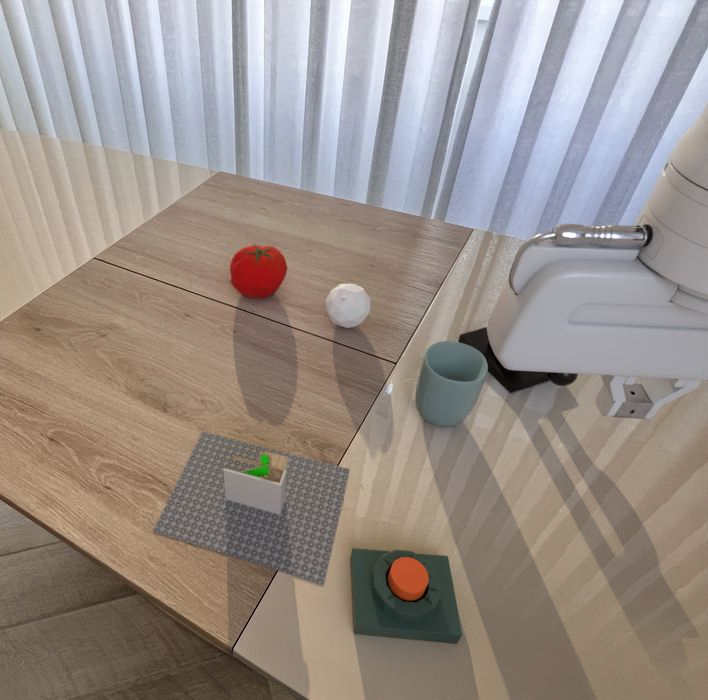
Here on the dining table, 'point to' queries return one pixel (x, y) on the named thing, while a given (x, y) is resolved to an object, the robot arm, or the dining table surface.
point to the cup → (449, 383)
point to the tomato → (258, 271)
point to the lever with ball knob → (562, 378)
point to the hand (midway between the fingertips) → (621, 411)
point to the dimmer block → (398, 614)
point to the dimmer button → (408, 578)
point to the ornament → (347, 305)
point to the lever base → (505, 377)
